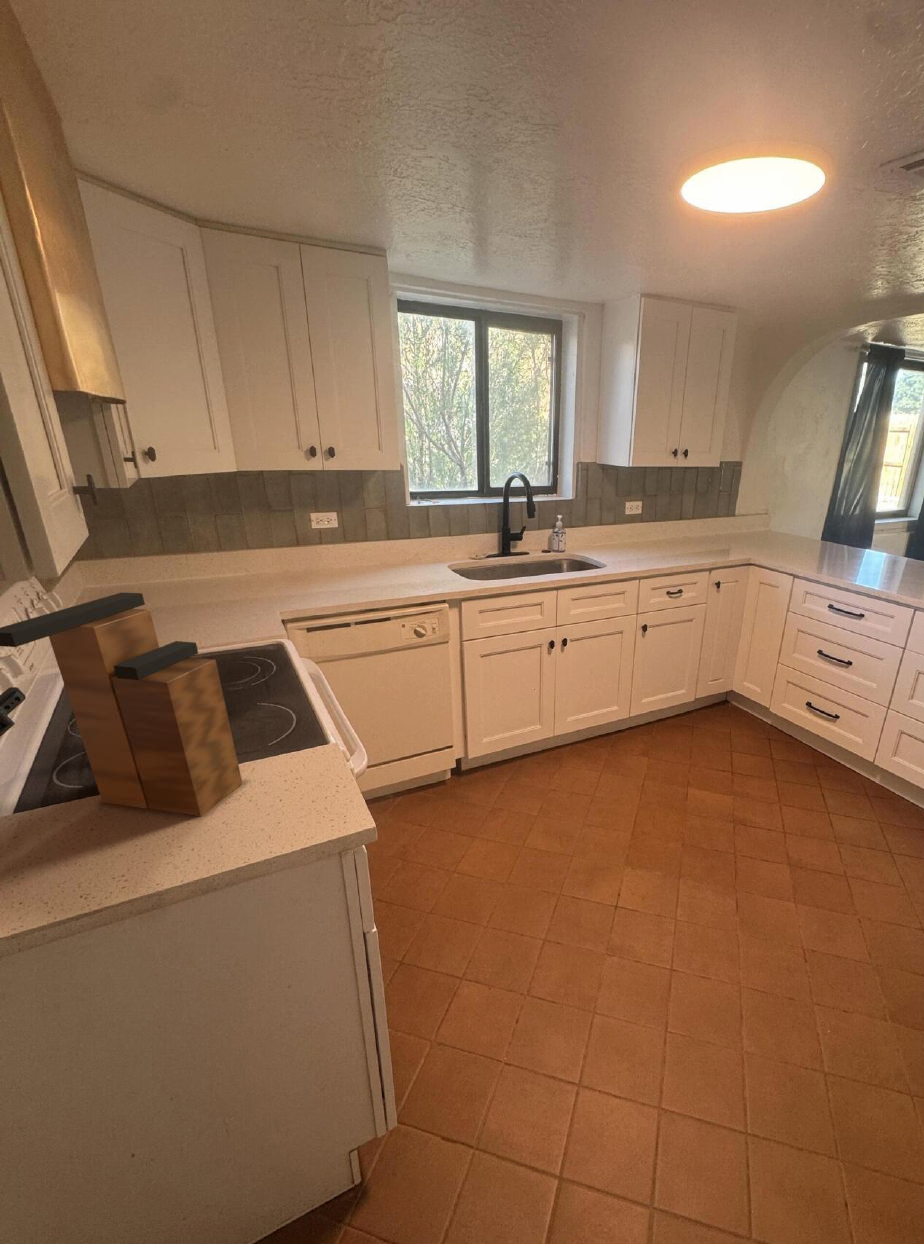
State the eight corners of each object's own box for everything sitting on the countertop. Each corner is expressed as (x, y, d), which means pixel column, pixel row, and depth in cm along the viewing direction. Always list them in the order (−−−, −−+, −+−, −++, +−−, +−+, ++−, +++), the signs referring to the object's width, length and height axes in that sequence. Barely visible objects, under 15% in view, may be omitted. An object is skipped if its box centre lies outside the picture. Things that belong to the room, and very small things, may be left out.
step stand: (201, 816, 94) (153, 631, 83) (102, 802, 97) (44, 624, 86) (242, 783, 103) (205, 613, 92) (151, 771, 107) (104, 606, 95)
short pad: (138, 680, 86) (135, 667, 86) (116, 678, 87) (112, 665, 86) (198, 653, 97) (196, 642, 97) (178, 651, 98) (175, 640, 97)
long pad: (15, 647, 76) (10, 633, 76) (-11, 645, 77) (-16, 631, 76) (145, 604, 97) (142, 593, 96) (124, 603, 97) (121, 592, 96)
